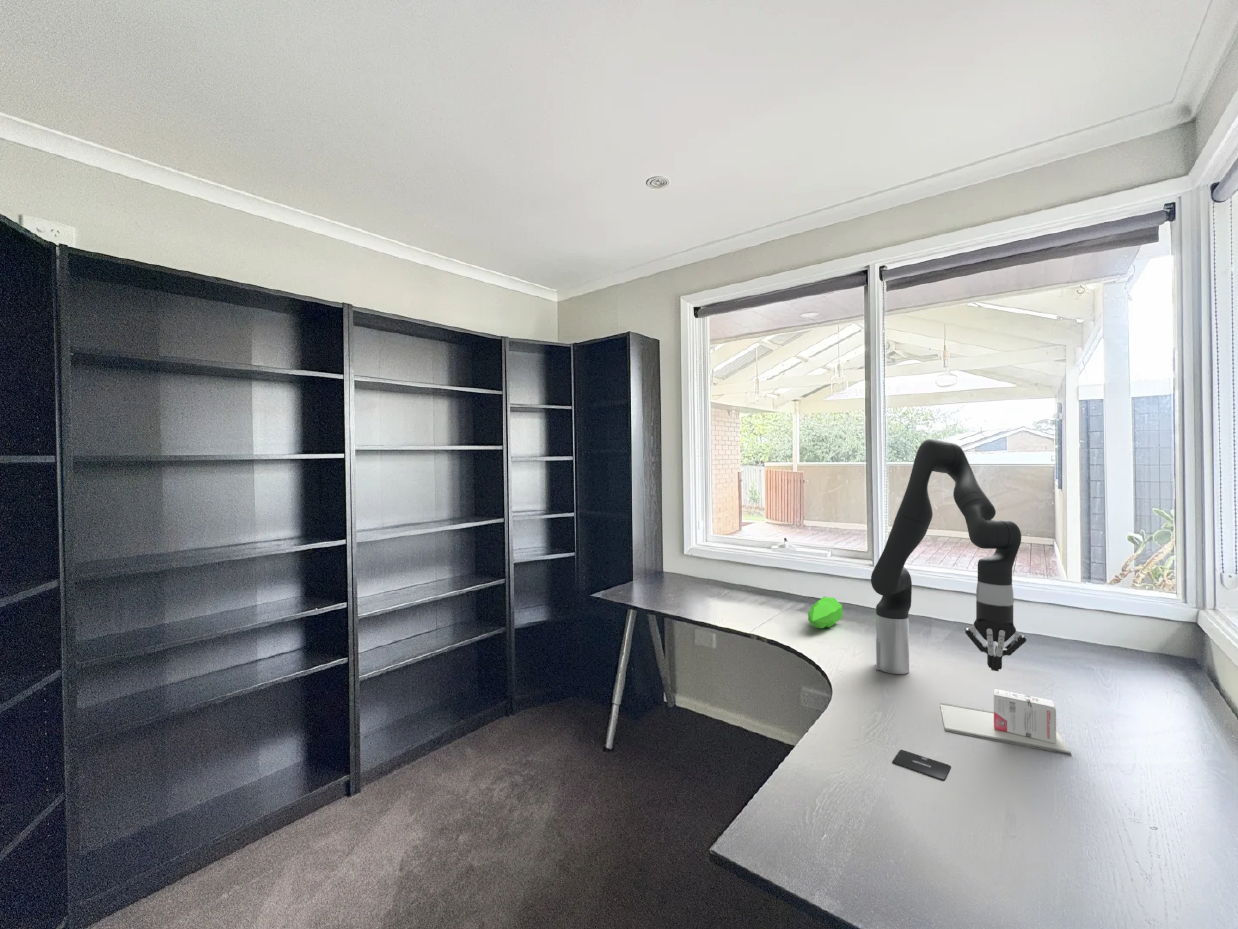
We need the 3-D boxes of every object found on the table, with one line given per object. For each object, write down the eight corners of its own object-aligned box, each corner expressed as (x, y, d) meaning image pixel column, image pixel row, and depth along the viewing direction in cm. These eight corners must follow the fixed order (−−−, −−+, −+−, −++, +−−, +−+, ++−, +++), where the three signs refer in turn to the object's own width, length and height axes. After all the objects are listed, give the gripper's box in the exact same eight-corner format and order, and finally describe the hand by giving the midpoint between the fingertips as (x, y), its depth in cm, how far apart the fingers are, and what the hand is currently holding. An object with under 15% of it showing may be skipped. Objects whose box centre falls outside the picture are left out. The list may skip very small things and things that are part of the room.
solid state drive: (900, 752, 120) (900, 749, 120) (951, 768, 113) (951, 765, 113) (891, 765, 115) (891, 762, 115) (944, 783, 108) (944, 780, 108)
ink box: (993, 722, 132) (1054, 736, 125) (993, 730, 128) (1056, 745, 121) (993, 687, 132) (1054, 700, 125) (993, 694, 128) (1056, 708, 121)
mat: (945, 731, 128) (945, 728, 128) (940, 704, 142) (940, 702, 142) (1070, 755, 117) (1070, 753, 117) (1051, 723, 131) (1051, 721, 131)
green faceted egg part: (841, 590, 222) (820, 602, 198) (852, 617, 219) (832, 633, 195) (815, 597, 228) (792, 610, 204) (826, 623, 225) (803, 639, 201)
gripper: (1024, 600, 130) (1024, 669, 130) (961, 594, 136) (961, 660, 136) (1031, 607, 123) (1031, 680, 124) (964, 600, 130) (964, 670, 130)
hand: (994, 669), depth 130 cm, fingers closed
